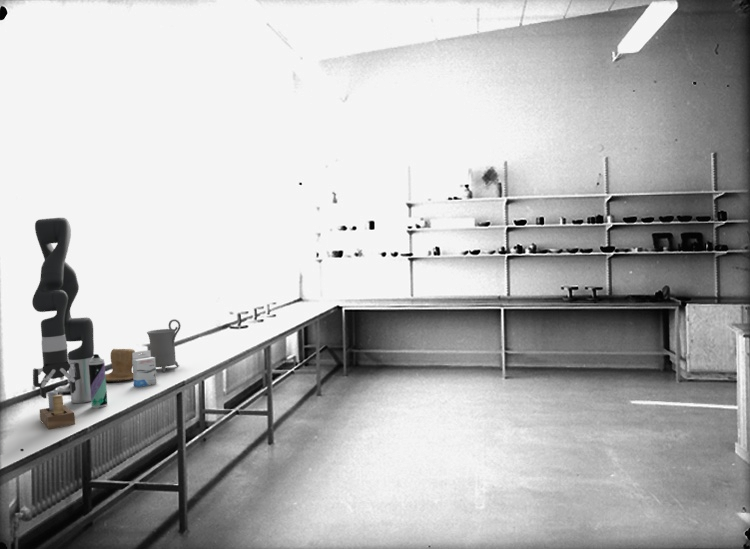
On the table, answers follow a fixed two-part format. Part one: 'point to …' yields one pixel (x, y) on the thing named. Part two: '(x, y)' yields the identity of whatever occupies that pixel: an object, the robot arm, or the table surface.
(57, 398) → the oak peg
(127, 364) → the tan ankle boot
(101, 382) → the spray can
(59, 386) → the table surface
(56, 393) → the grey peg
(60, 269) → the robot arm
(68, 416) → the walnut block
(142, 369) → the ink box
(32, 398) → the table surface
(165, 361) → the mug
